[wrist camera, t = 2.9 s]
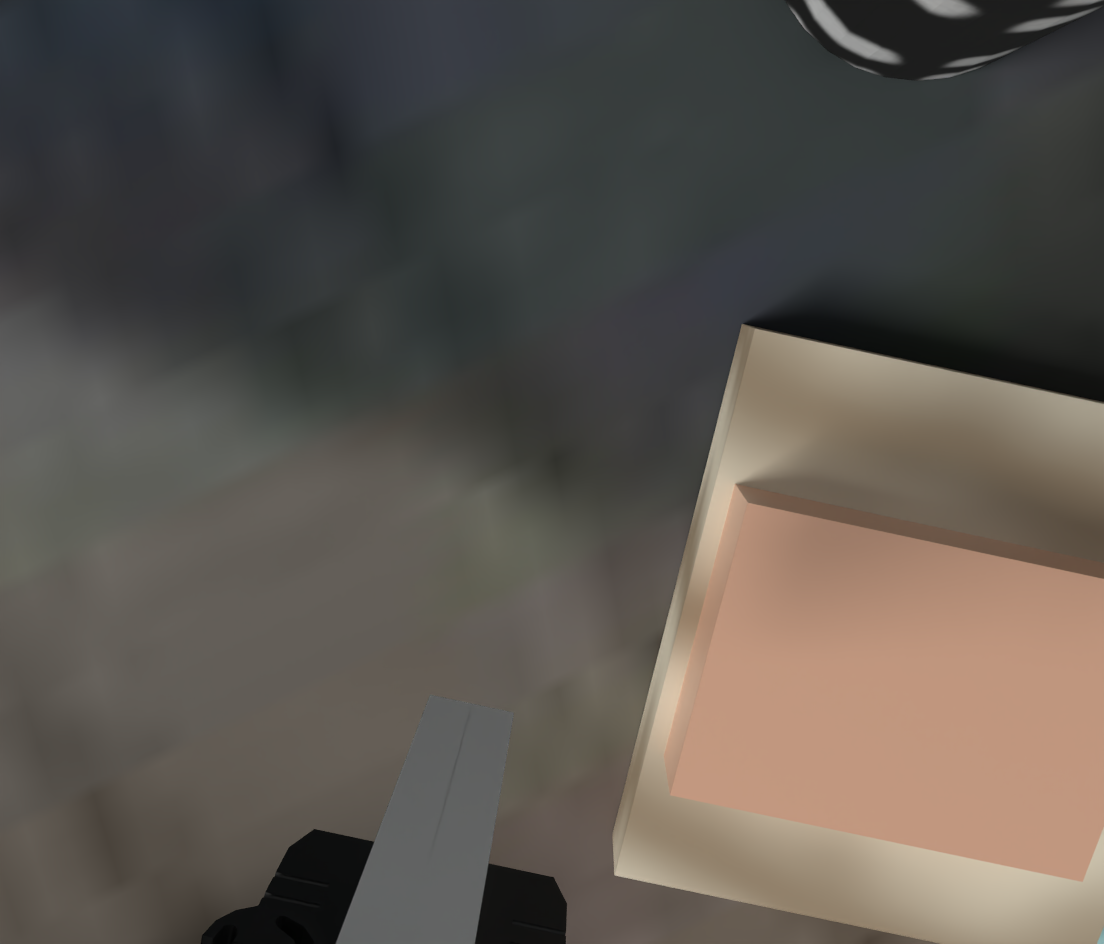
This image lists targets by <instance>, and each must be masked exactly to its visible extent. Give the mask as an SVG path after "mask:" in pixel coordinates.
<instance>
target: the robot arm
mask: <svg viewBox="0 0 1104 944" xmlns="http://www.w3.org/2000/svg"><path fill="white" fill-rule="evenodd" d="M513 716H514V713H513V712H509V711H504V710H499V709H495V708H490V707H485V706H481V705H476V704H471V703H467V702H462V701H457V700H452V699H448V698H443V697H438V696H434V695H430V696H429V699H428V702H427V704H426V707H425V710H424V712H423V715H422V718H421V720H420V723H419V725H418V728H417V731H416V733H415V736H414V739H413V741H412V744H411V747H410V749H409V752H408V754H407V757H406V760H405V762H404V765H403V768H402V770H401V773H400V776H399V778H398V781H397V783H396V786H395V789H394V791H393V794H392V797H391V799H390V802H389V805H388V807H387V810H386V812H385V815H384V818H383V820H382V823H381V826H380V828H379V831H378V834H377V836H376V839H375V841H374V842H372V841H368V840H363V839H358V838H353V837H349V836H344V835H339V834H335V833H330V832H325V831H321V830H316V829H314V830H312V831H311V832H310V833H308V834H307V835H306V836H304V837H303V838H301V839H300V840H299V841H297V842H296V843H295V844H293V845H292V846H290V847H289V848H288V850H287V852H286V854H285V856H284V858H283V860H282V862H281V864H280V866H279V867H278V869H277V871H276V875H275V877H273V879H272V881H271V883H270V885H269V886H268V888H267V890H266V892H265V896H264V898H262V900H261V902H260V904H259V906H255V907H250V908H245V909H240V910H235V911H233V912H232V913H230V914H228V915H226V916H224V917H222V918H220V919H218V920H216V921H215V922H214V923H213V924H212V925H211V926H210V927H209V929H208V930H207V931H206V932H205V933H204V934H203V935H202V940H201V944H566V936H565V933H566V914H567V903H566V901H565V899H564V897H563V895H562V893H561V891H560V889H559V887H558V885H557V883H556V881H555V879H554V877H549V876H545V875H540V874H535V873H530V872H526V871H521V870H516V869H512V868H507V867H502V866H498V865H493V864H488V863H489V857H490V851H491V845H492V839H493V833H494V827H495V821H496V815H497V810H498V804H499V798H500V792H501V786H502V780H503V774H504V768H505V763H506V757H507V751H508V745H509V739H510V733H511V727H512V721H513Z"/></svg>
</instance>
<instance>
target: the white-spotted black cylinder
mask: <svg viewBox="0 0 1104 944" xmlns="http://www.w3.org/2000/svg"><path fill="white" fill-rule="evenodd" d="M785 1H786V3H787V5H788V6H789V7H790V9H791V10H792V12H793V13H794V15H795V16H796V17H797V19H798V20H799V22H800V23H801V25H802V26H803V27H804V29H805V30H806V31H807V32H808V33H809V34H811V35H812V36H813V37H814V38H815V39H816V40H817V41H818V42H819V43H820V44H821V45H822V46H823V47H824V48H825V49H827V50H828V51H829V52H831V53H832V54H834V55H836V56H837V57H839V58H841V59H842V60H844V61H846V62H847V63H849V64H851V65H852V66H854V67H856V68H859V69H862V70H865V71H868V72H871V73H874V74H877V75H880V76H883V77H889V78H898V79H907V80H916V81H918V80H928V79H938V78H949V77H952V76H955V75H959V74H962V73H965V72H969V71H972V70H975V69H979V68H981V67H983V66H985V65H987V64H989V63H991V62H993V61H995V60H997V59H999V58H1001V57H1003V56H1005V55H1007V54H1009V53H1011V52H1013V51H1015V50H1017V49H1019V48H1021V47H1023V46H1025V45H1027V44H1029V43H1031V42H1033V41H1035V40H1037V39H1039V38H1041V37H1043V36H1045V35H1047V34H1049V33H1051V32H1053V31H1055V30H1057V29H1059V28H1061V27H1063V26H1065V25H1067V24H1069V23H1071V22H1073V21H1075V20H1077V19H1079V18H1081V17H1083V16H1085V15H1087V14H1089V13H1091V12H1093V11H1095V10H1097V9H1099V8H1101V7H1103V6H1104V0H785Z"/></svg>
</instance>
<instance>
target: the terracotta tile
mask: <svg viewBox="0 0 1104 944" xmlns="http://www.w3.org/2000/svg"><path fill="white" fill-rule="evenodd" d="M664 761H665V767H666V774H667V780H668V786H669V792H670V795H671V796H676V797H680V798H685V799H690V800H695V801H700V802H704V803H709V804H714V805H719V806H723V807H728V808H733V809H738V810H742V811H747V812H752V813H757V814H761V815H766V816H771V817H776V818H780V819H785V820H790V821H795V822H799V823H804V824H809V825H814V826H818V827H823V828H828V829H833V830H837V831H842V832H847V833H852V834H857V835H861V836H866V837H871V838H876V839H880V840H885V841H890V842H895V843H899V844H904V845H909V846H914V847H918V848H923V849H928V850H933V851H937V852H942V853H947V854H952V855H956V856H961V857H966V858H971V859H975V860H980V861H985V862H990V863H994V864H999V865H1004V866H1009V867H1013V868H1018V869H1023V870H1028V871H1033V872H1037V873H1042V874H1047V875H1052V876H1056V877H1061V878H1066V879H1071V880H1075V881H1080V882H1083V880H1084V877H1085V875H1086V872H1087V869H1088V867H1089V864H1090V861H1091V859H1092V856H1093V854H1094V851H1095V848H1096V846H1097V843H1098V841H1099V838H1100V835H1101V833H1102V830H1103V828H1104V563H1102V562H1097V561H1093V560H1088V559H1083V558H1079V557H1074V556H1069V555H1065V554H1060V553H1055V552H1051V551H1046V550H1041V549H1037V548H1032V547H1027V546H1023V545H1018V544H1013V543H1009V542H1004V541H999V540H995V539H990V538H985V537H981V536H976V535H971V534H967V533H962V532H957V531H953V530H948V529H943V528H939V527H934V526H929V525H925V524H920V523H915V522H911V521H906V520H901V519H897V518H892V517H887V516H883V515H878V514H873V513H869V512H864V511H859V510H855V509H850V508H845V507H841V506H836V505H831V504H827V503H822V502H817V501H813V500H808V499H803V498H799V497H794V496H789V495H785V494H780V493H775V492H771V491H766V490H761V489H757V488H752V487H747V486H743V485H738V484H735V485H734V489H733V493H732V497H731V501H730V504H729V508H728V512H727V516H726V520H725V524H724V527H723V531H722V535H721V539H720V543H719V546H718V550H717V554H716V558H715V562H714V566H713V569H712V573H711V577H710V581H709V585H708V588H707V592H706V596H705V600H704V604H703V608H702V611H701V615H700V619H699V623H698V627H697V631H696V634H695V638H694V642H693V646H692V650H691V653H690V657H689V661H688V665H687V669H686V673H685V676H684V680H683V684H682V688H681V692H680V695H679V699H678V703H677V707H676V711H675V715H674V718H673V722H672V726H671V730H670V734H669V737H668V741H667V745H666V749H665V753H664Z"/></svg>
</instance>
